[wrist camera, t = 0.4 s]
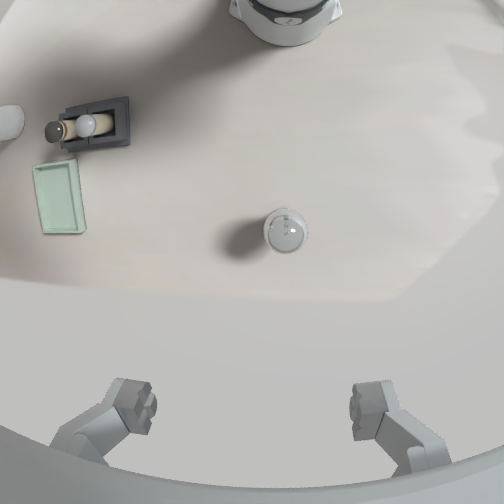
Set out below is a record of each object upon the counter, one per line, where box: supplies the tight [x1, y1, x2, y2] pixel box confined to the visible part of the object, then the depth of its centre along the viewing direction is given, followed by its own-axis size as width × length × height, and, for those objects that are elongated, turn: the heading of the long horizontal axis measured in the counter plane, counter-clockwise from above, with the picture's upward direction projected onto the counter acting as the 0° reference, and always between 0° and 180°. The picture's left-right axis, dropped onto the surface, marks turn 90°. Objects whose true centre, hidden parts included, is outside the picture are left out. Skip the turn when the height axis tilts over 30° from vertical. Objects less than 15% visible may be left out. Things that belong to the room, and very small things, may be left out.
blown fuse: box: [45, 119, 80, 143], centre depth 47 cm, size 4×4×9 cm
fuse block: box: [59, 97, 130, 152], centre depth 50 cm, size 9×14×4 cm, turn 90°
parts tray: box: [33, 158, 87, 233], centre depth 57 cm, size 15×11×2 cm
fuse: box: [75, 114, 115, 137], centre depth 47 cm, size 4×4×9 cm
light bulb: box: [263, 208, 309, 255], centre depth 51 cm, size 7×7×12 cm
